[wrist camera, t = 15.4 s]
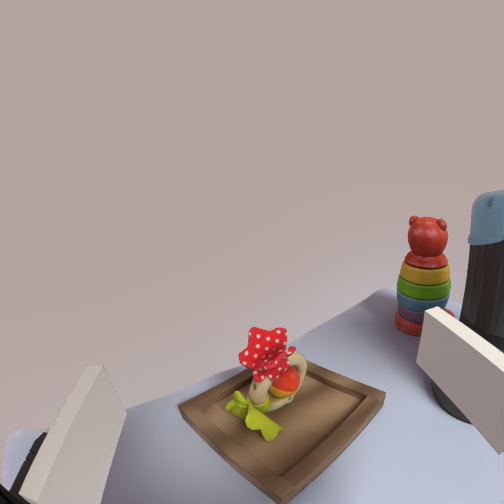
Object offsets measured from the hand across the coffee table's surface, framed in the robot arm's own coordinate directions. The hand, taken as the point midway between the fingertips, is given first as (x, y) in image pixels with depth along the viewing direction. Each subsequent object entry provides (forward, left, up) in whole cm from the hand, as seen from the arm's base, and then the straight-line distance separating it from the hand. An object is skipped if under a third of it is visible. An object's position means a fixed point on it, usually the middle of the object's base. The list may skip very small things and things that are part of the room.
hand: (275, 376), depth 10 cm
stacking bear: (+5, -38, -17) cm, 42 cm away
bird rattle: (+10, -8, -16) cm, 21 cm away
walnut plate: (+10, -9, -17) cm, 22 cm away
